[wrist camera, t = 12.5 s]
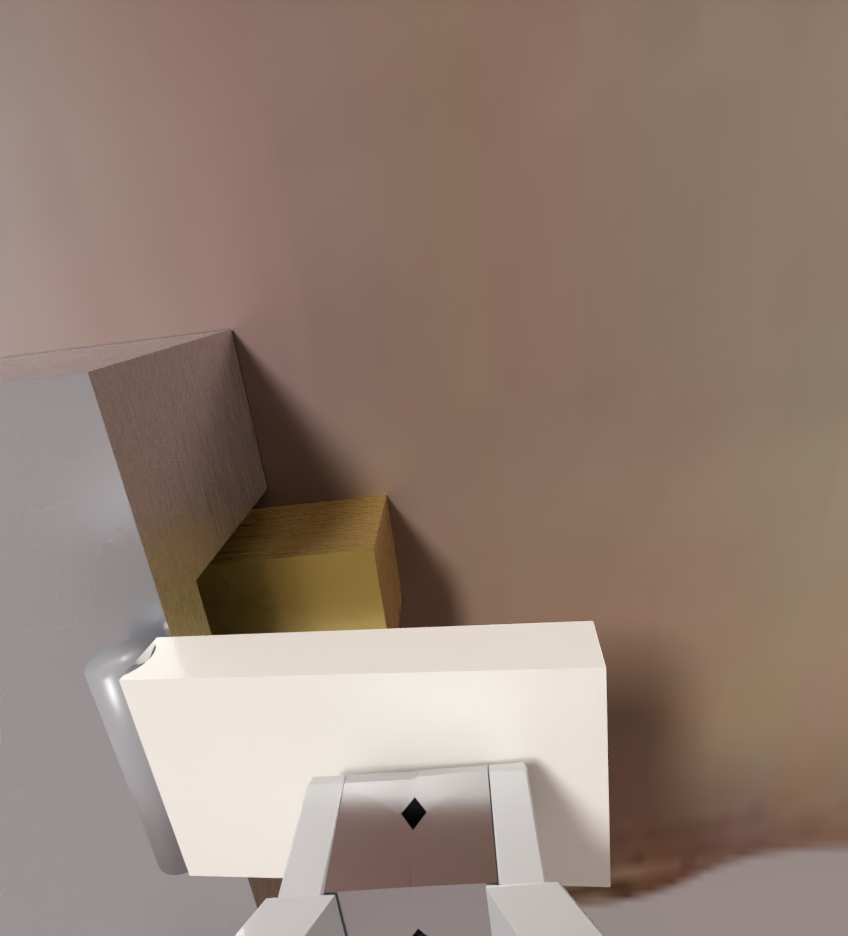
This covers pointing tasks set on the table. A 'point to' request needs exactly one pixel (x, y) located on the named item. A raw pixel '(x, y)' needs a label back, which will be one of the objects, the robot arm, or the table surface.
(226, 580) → the lynch pin
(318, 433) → the table surface
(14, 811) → the block
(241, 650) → the bar
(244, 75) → the table surface
